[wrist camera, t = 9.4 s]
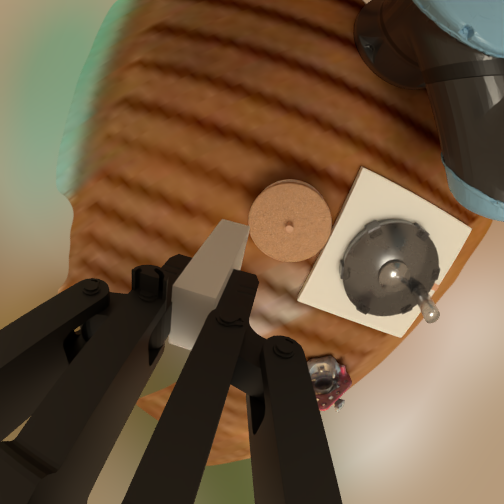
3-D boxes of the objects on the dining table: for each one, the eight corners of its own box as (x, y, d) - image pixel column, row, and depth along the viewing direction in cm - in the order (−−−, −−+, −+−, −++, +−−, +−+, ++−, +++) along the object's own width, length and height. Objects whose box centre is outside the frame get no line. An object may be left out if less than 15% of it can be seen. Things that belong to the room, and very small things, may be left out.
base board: (361, 166, 40) (363, 167, 39) (467, 225, 40) (472, 229, 39) (297, 295, 51) (297, 301, 49) (399, 332, 51) (401, 338, 50)
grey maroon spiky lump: (347, 349, 51) (354, 411, 46) (349, 356, 61) (354, 408, 55) (288, 358, 54) (293, 419, 49) (299, 364, 64) (303, 415, 58)
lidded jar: (245, 185, 44) (232, 202, 36) (314, 162, 41) (317, 174, 33) (270, 248, 48) (263, 277, 40) (335, 228, 45) (343, 255, 37)
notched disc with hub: (320, 282, 47) (323, 318, 39) (381, 196, 40) (400, 217, 31) (392, 322, 48) (404, 358, 40) (451, 250, 41) (476, 278, 33)
